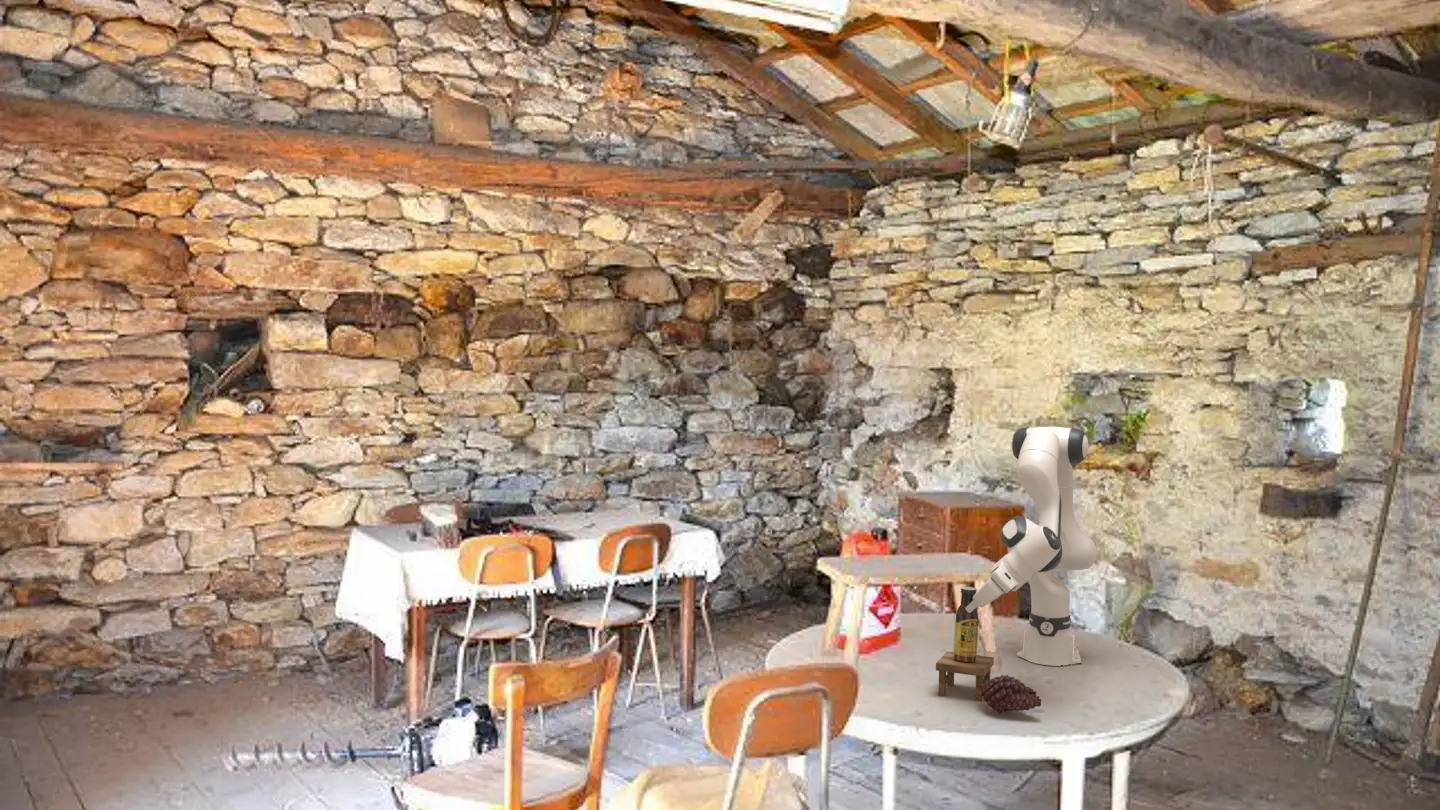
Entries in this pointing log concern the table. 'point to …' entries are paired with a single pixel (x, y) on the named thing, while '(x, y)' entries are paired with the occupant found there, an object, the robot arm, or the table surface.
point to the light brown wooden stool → (963, 671)
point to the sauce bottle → (966, 628)
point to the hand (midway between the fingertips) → (971, 606)
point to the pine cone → (1008, 695)
